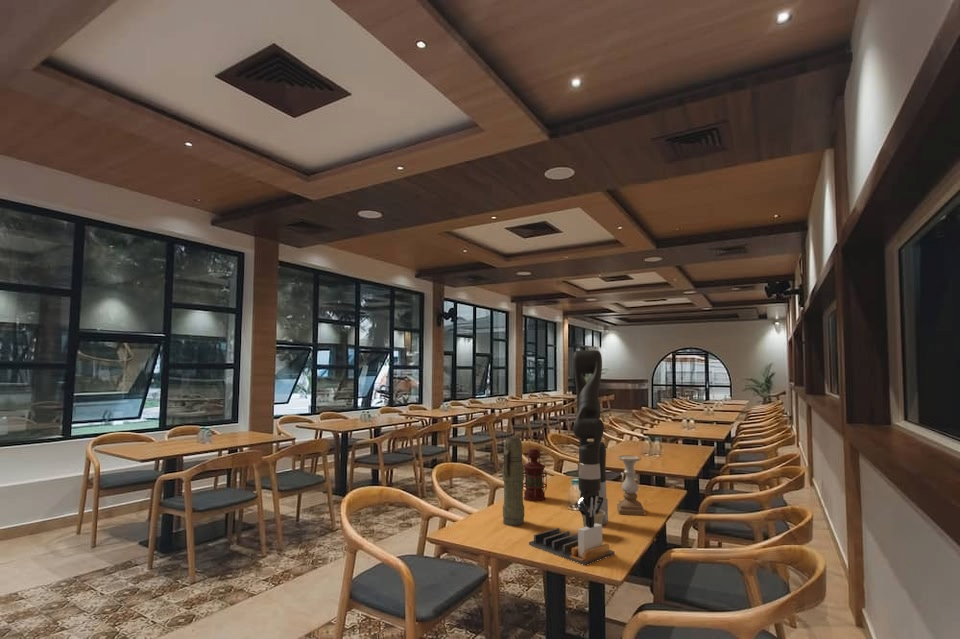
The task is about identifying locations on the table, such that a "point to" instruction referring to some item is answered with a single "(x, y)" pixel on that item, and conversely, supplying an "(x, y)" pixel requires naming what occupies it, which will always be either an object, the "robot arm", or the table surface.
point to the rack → (568, 546)
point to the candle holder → (630, 489)
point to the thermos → (513, 482)
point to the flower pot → (595, 518)
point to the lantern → (534, 477)
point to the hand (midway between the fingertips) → (590, 527)
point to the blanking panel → (589, 538)
